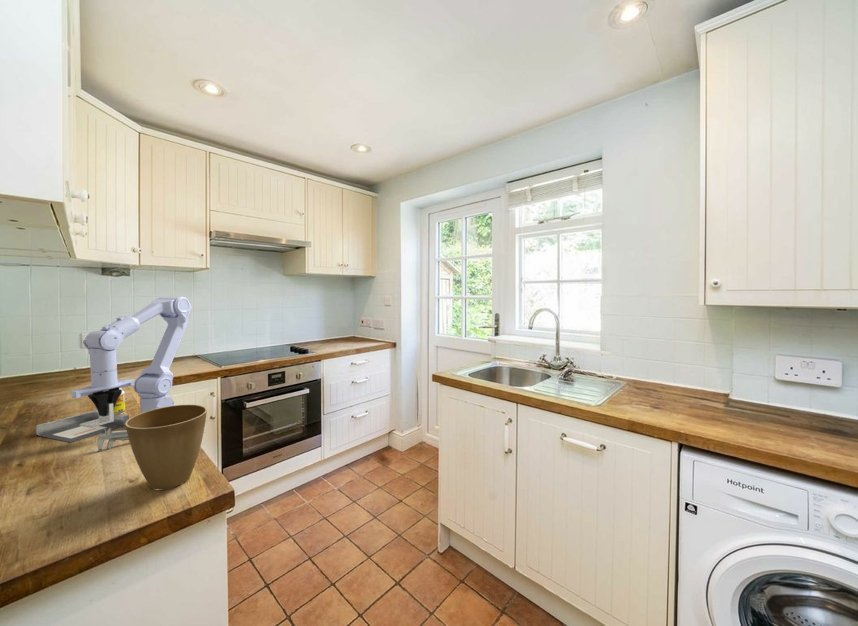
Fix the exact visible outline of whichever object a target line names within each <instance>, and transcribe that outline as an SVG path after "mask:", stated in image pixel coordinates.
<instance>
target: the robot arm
mask: <svg viewBox="0 0 858 626" xmlns="http://www.w3.org/2000/svg"><path fill="white" fill-rule="evenodd" d="M192 309H193V307H192V305H191V302H190V301H189V299H188V298H187V297H185V296H177V297H176V296H175V297H174V296H171V297H170V296H159V297H157V298H156V299H153V300H151V303H149V304H148V305H146V306H145V307H143V308H142V309H141V310H139V311H137V312H136V313H134V314H133V315H131V316H128V315H126V316H125V315H124V316H118V317H117V318H116V320H115V321H113V322H112V323H110V324H108V325H103V326H102V327H101V329H100V330H94V331H93V330H92V331H90V332H89V333H88V334H87V335H86V337H85V339H84V340H83V341H82V344H83V346H84V347H85V348H86V349H87V352H88V355H89V362H90V363H89V366H90V367H89V368H90V384H91V385H90V386H86V387H82V388H79V389H75V390H71V391H70V392H71V398H72V399H80V398H81V397H86V396H87V398H89V400H90V401H91V402H92V403H93V404H94V406H95V407H96V410H98V413H99V416H103V417H104V416H106V415H107V402H108V403H113V411H114V407H115V404H116V402H117V400H118V398H119V396H120V395H121V393H122V391H123V389H122V390H120V389H119V388H126V387H132V388H133V390H134V392H135V393H137V394H138V397H139V407H140V410H139V411H140V413H143V412H146V411H150V410H153V409H157V408H162V407H168V406H175V402H174V399H173V398H172V397H170V396H168V395H169V392H170V391H171V389H172V388H173V380H174V377H175V376H174V374H173V372H172V371H171V370H170V368H171V366H172V363H173V361H174V359H175V355H176V353H177V351H178V349H179V347H180V345H181V341H182V339H183V337H184V334H185V332H186V329H187V326H188V324H189V316H190V313H191V310H192ZM157 316H160V317H161V318H162V319H163V320H164V321H165V322H166V323H167V325H166V326H167V327H166V329H165V331H164V332H163V335H162V337H161V340H160V342H159V345H158V348H157V349H156V351H155V355H154V356H153V359H152V362H151V364H150V365H149V366H148V367H147V368H146V367H145V368H144V369H143V370H142V371H141V373H140V375H139V376H138V377H136V379H132V378H129V379H123V380H118V365H117V364H118V361H117V349H118V348H119V347H120V346H121V344H122V342H123V340H125V339H126V338H128V337H130V336H132V335H133V334H135V333H136V332H138V331H139V330H140V325H142V324H144V323H146V322H147V321H149V320H151V319H154V318H155V317H157ZM140 413H139V414H140Z"/></svg>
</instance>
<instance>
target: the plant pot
mask: <svg viewBox="0 0 858 626" xmlns="http://www.w3.org/2000/svg"><path fill="white" fill-rule="evenodd" d="M207 413H208V409H207V407H206V406H203V405H199V404H177V405H175V404H174V406H168V407H162V408H157V409H153V410H150V411H146V412H143V413H138V414H135V415H134V416H131V417H129V419H128V420H127V421H126V422H125V426H124V427H125V430H127V434H128V438H129V440H128V441H129V445H130V448H131V450H132V453H133V456H134V458H135V459H134V460H135V461H136V463H137V465H138V468H139V470H140V472H141V473H142V475H143V477H144V479H145V481H146V482H147V484H148V485H149V487H150V488H151V489H152V490H154V489H166V490H169V489H168V488H170V489H173V488H172V487H174V488H176V487H175V486H177V487H178V485H179V486H181V485H183V484H184V482H185V483H186V482H187V481H189V480H190V479H191V476H192V473H193V471H194V468H195V465H196V463H197V459H198V456H199V453H200V449H201V446H202V441H203V438H204V433H205V427H206V420H207V419H206V418H207ZM182 483H183V484H182ZM180 484H181V485H180Z"/></svg>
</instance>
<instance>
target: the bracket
mask: <svg viewBox="0 0 858 626" xmlns="http://www.w3.org/2000/svg"><path fill="white" fill-rule="evenodd" d="M113 421H114V411H113V403H108V402H107V415H106V416H104V417H103V416H99V419H96V420H92V421H89V422H85V423H81V424H80V426H83V427H88V428H93V427H96V426H100V425H103V424H106V423H110V422H113Z"/></svg>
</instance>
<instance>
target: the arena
mask: <svg viewBox="0 0 858 626" xmlns="http://www.w3.org/2000/svg"><path fill="white" fill-rule="evenodd" d="M96 419H99V413H98V410H97V409H95V410H91V411H87V412H82V413H78V414H75V415H71V416H67V417H64V418H60V419H56V420H52V421H49V422H45V423H40V424H36V425H35V431H36V436H37V435H38V436H37V437H41V436H43V437H42V438H46V437H47V438H46V439H50V438H51V439H52V440H55V439H56V441H60V440H61V442H65V441H66V442H65V443H70V444H71V443H74V441H75V442H77V441H81V440H85V439H87V438H90V437H94V436H97V435H100V433H103V430H104V429H105V430H106V432H107V430H108V429H109V428H110V429H111V431H112V430H113V431H114V430H116V429H118V428H121V427H122V428H123V427H126V426H125V422H126V421H127V420H128V419H130V417H129V414H125V413H124V414H119V413H114V421H113V422H110V423H106V424H103V425H100V426H96V427H93V428H88V427H83V426H80V424H81V423H85V422H89V421H92V420H96ZM51 439H50V440H51Z"/></svg>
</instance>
